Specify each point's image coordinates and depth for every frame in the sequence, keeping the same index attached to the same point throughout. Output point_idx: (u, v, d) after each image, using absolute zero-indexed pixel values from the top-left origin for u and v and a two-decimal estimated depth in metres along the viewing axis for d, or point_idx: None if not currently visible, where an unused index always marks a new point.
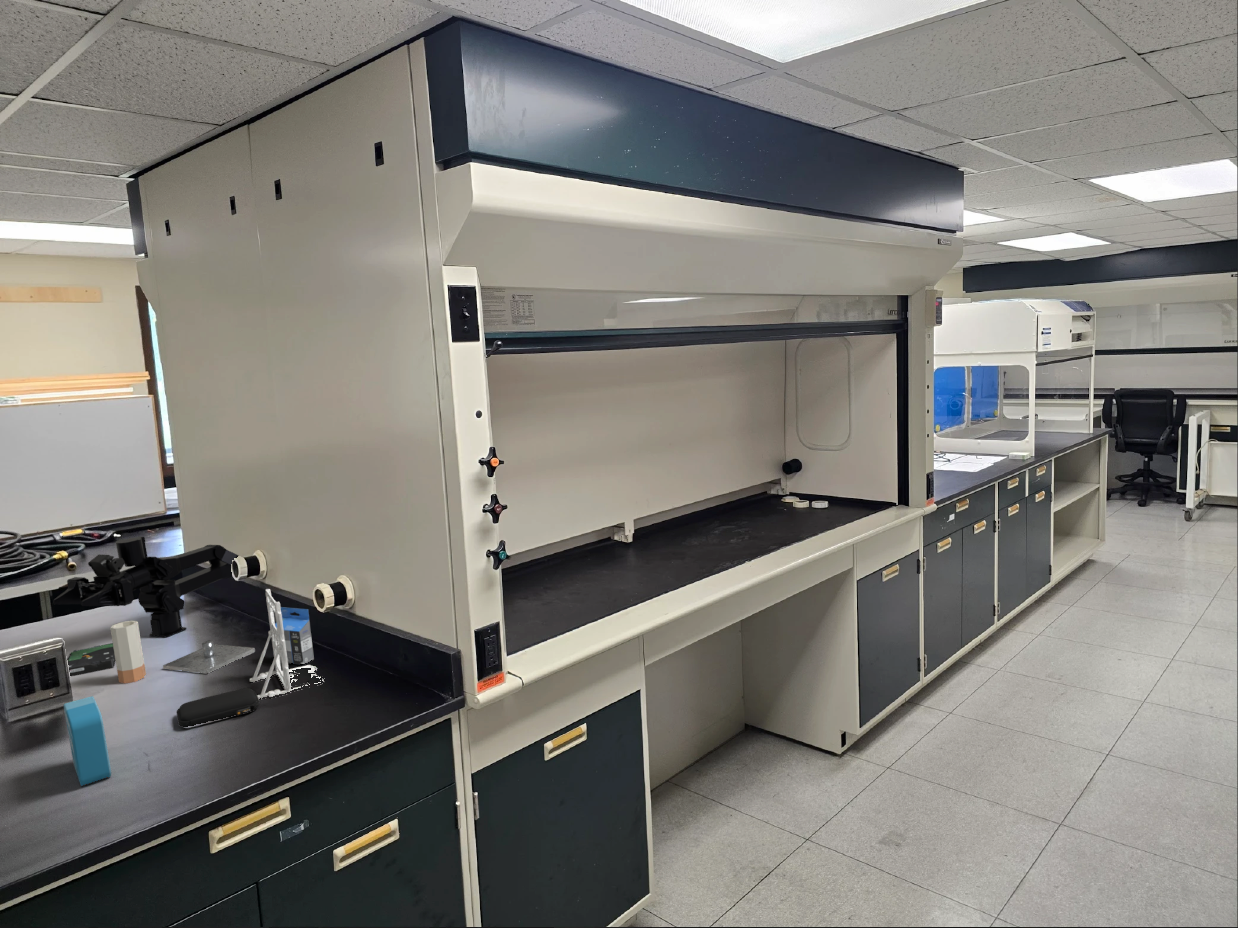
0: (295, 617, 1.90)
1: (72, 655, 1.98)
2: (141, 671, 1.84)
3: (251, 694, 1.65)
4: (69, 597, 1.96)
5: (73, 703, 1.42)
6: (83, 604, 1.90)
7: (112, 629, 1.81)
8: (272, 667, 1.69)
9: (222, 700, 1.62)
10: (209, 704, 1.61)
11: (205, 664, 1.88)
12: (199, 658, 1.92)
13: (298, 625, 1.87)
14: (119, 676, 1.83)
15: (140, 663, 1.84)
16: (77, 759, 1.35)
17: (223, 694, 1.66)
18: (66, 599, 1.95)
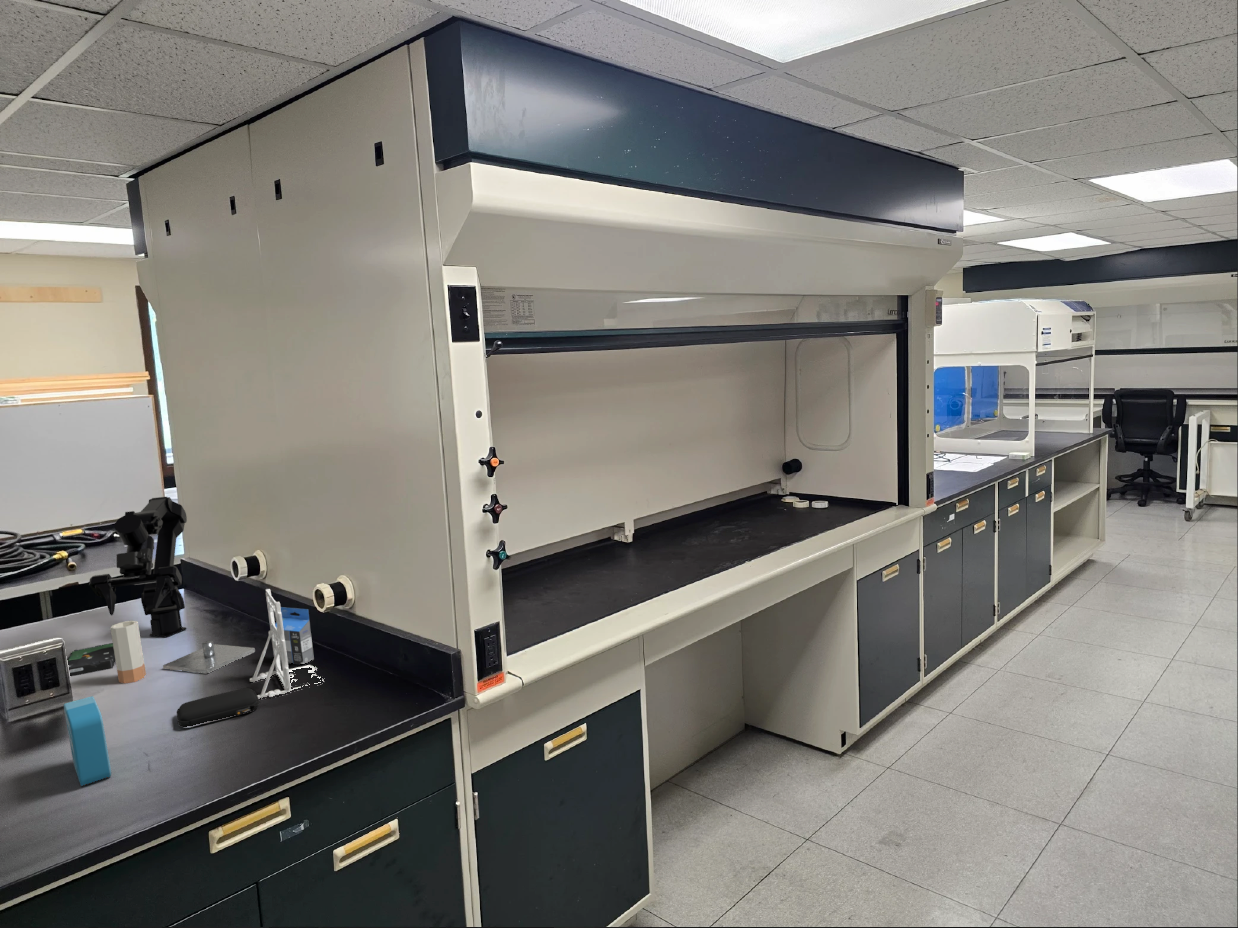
0: (295, 617, 1.90)
1: (72, 655, 1.98)
2: (141, 671, 1.84)
3: (251, 694, 1.65)
4: (112, 600, 1.92)
5: (73, 703, 1.42)
6: (156, 607, 1.92)
7: (112, 629, 1.81)
8: (272, 667, 1.69)
9: (222, 700, 1.62)
10: (209, 704, 1.61)
11: (205, 664, 1.88)
12: (199, 658, 1.92)
13: (298, 625, 1.87)
14: (119, 676, 1.83)
15: (140, 663, 1.84)
16: (77, 759, 1.35)
17: (223, 694, 1.66)
18: (113, 603, 1.92)
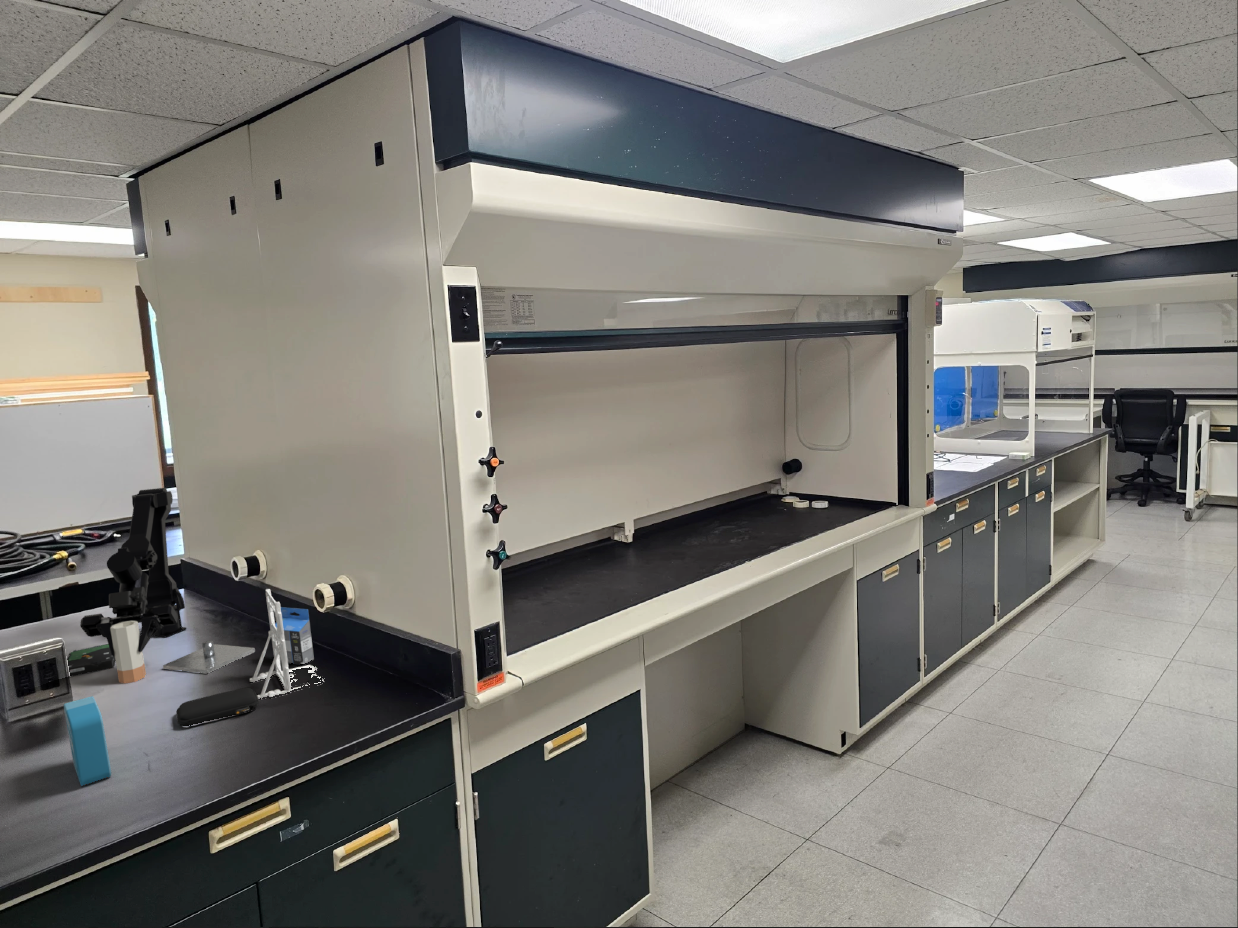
0: (295, 617, 1.90)
1: (72, 655, 1.98)
2: (141, 671, 1.84)
3: (250, 694, 1.65)
4: None
5: (73, 703, 1.42)
6: (141, 650, 1.84)
7: (112, 629, 1.81)
8: (272, 667, 1.69)
9: (221, 700, 1.63)
10: (209, 703, 1.61)
11: (205, 664, 1.88)
12: (199, 658, 1.92)
13: (298, 625, 1.87)
14: (119, 676, 1.83)
15: (140, 663, 1.84)
16: (77, 759, 1.35)
17: (223, 693, 1.66)
18: None
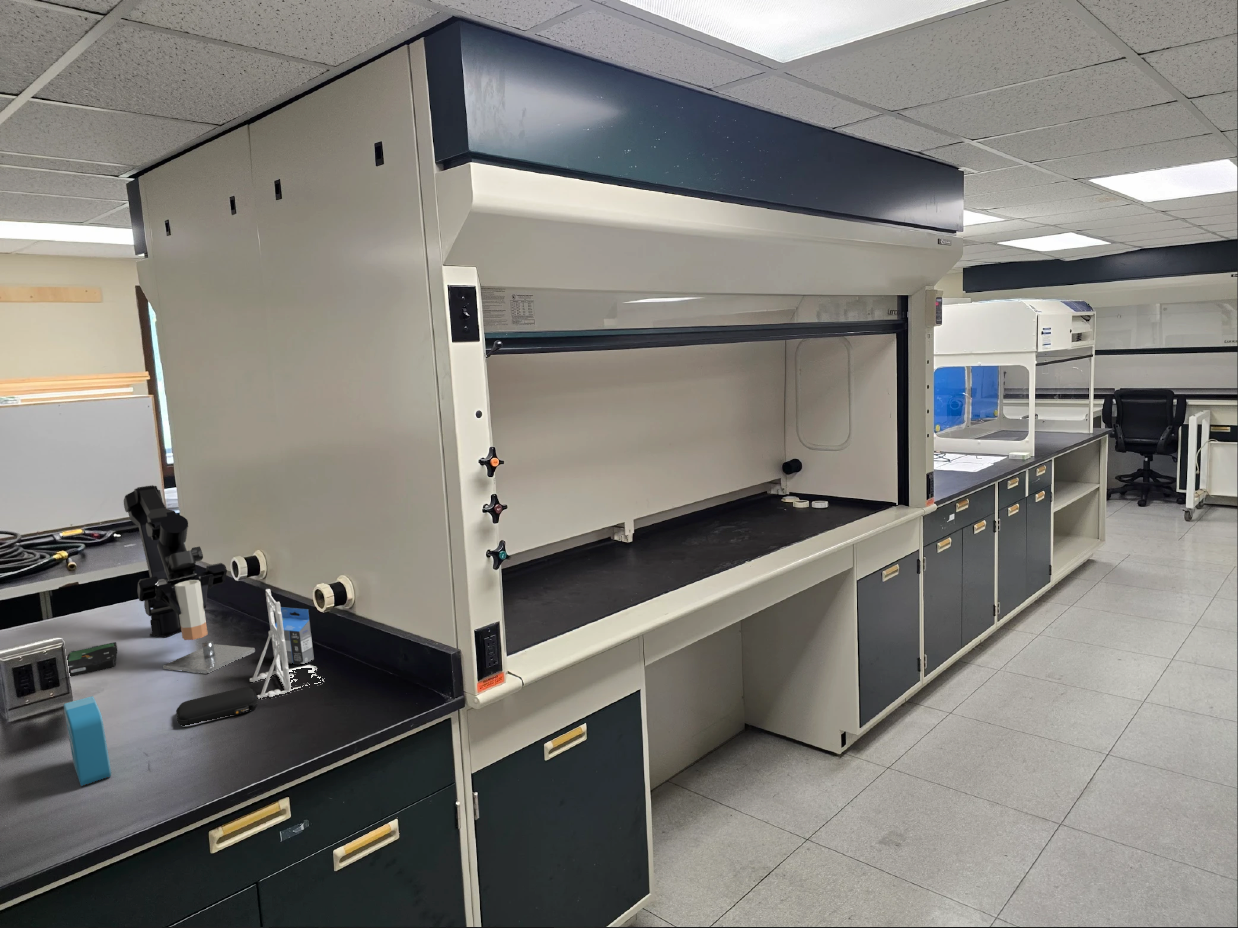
0: (295, 617, 1.90)
1: (71, 655, 1.98)
2: (206, 627, 1.91)
3: (250, 693, 1.65)
4: None
5: (73, 703, 1.42)
6: (205, 607, 1.91)
7: (180, 587, 1.87)
8: (272, 667, 1.69)
9: (221, 699, 1.63)
10: (208, 703, 1.62)
11: (205, 664, 1.88)
12: (199, 658, 1.92)
13: (298, 625, 1.87)
14: (185, 633, 1.88)
15: (205, 619, 1.91)
16: (77, 759, 1.35)
17: (222, 693, 1.66)
18: None
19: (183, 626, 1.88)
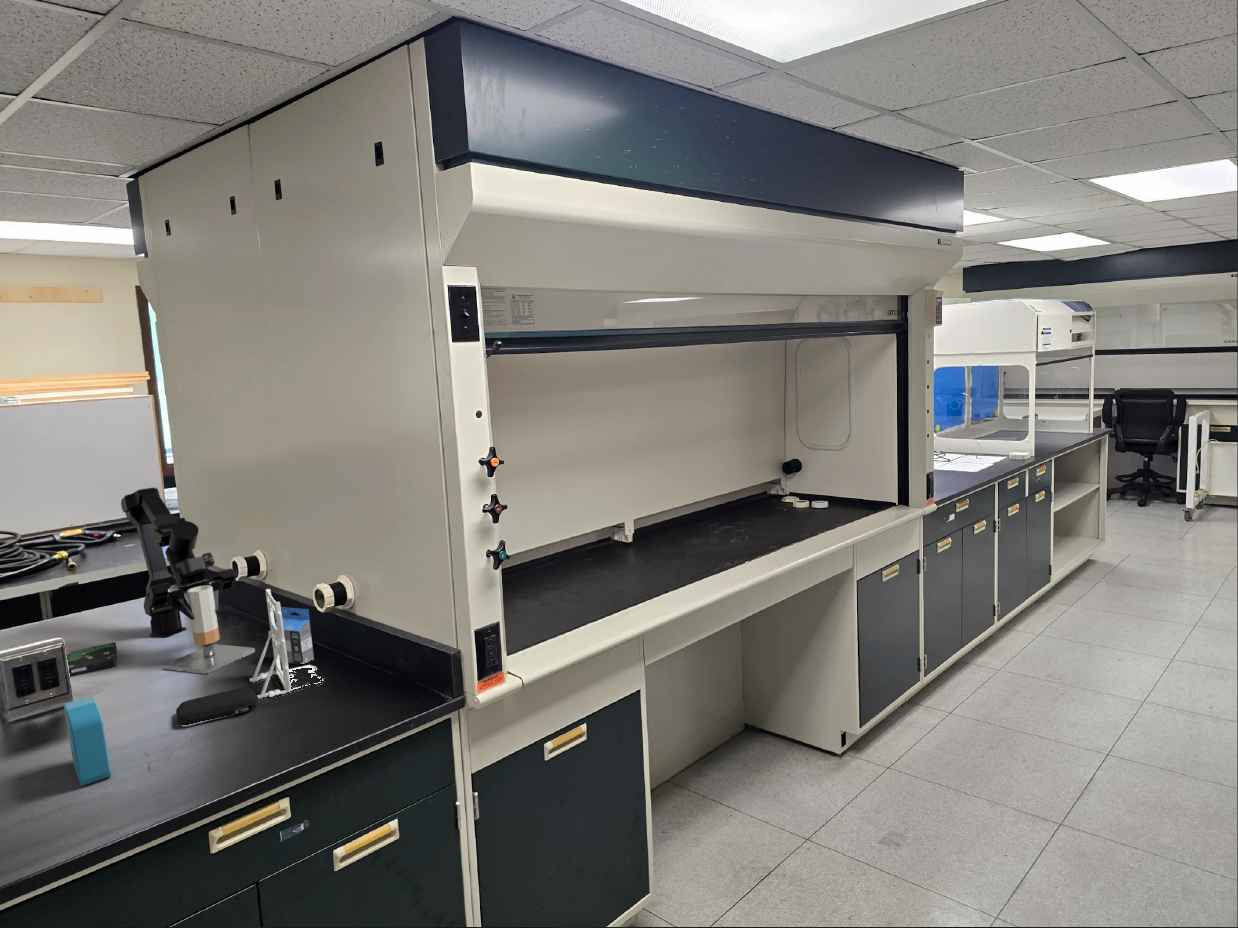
0: (295, 617, 1.90)
1: (70, 656, 1.97)
2: (218, 632, 1.94)
3: (250, 693, 1.66)
4: None
5: (73, 703, 1.42)
6: (217, 612, 1.93)
7: (193, 593, 1.89)
8: (272, 667, 1.69)
9: (221, 699, 1.63)
10: (208, 703, 1.62)
11: (205, 664, 1.88)
12: (199, 658, 1.92)
13: (298, 625, 1.87)
14: (198, 639, 1.90)
15: (217, 624, 1.93)
16: (77, 759, 1.35)
17: (222, 693, 1.66)
18: None
19: (196, 631, 1.90)
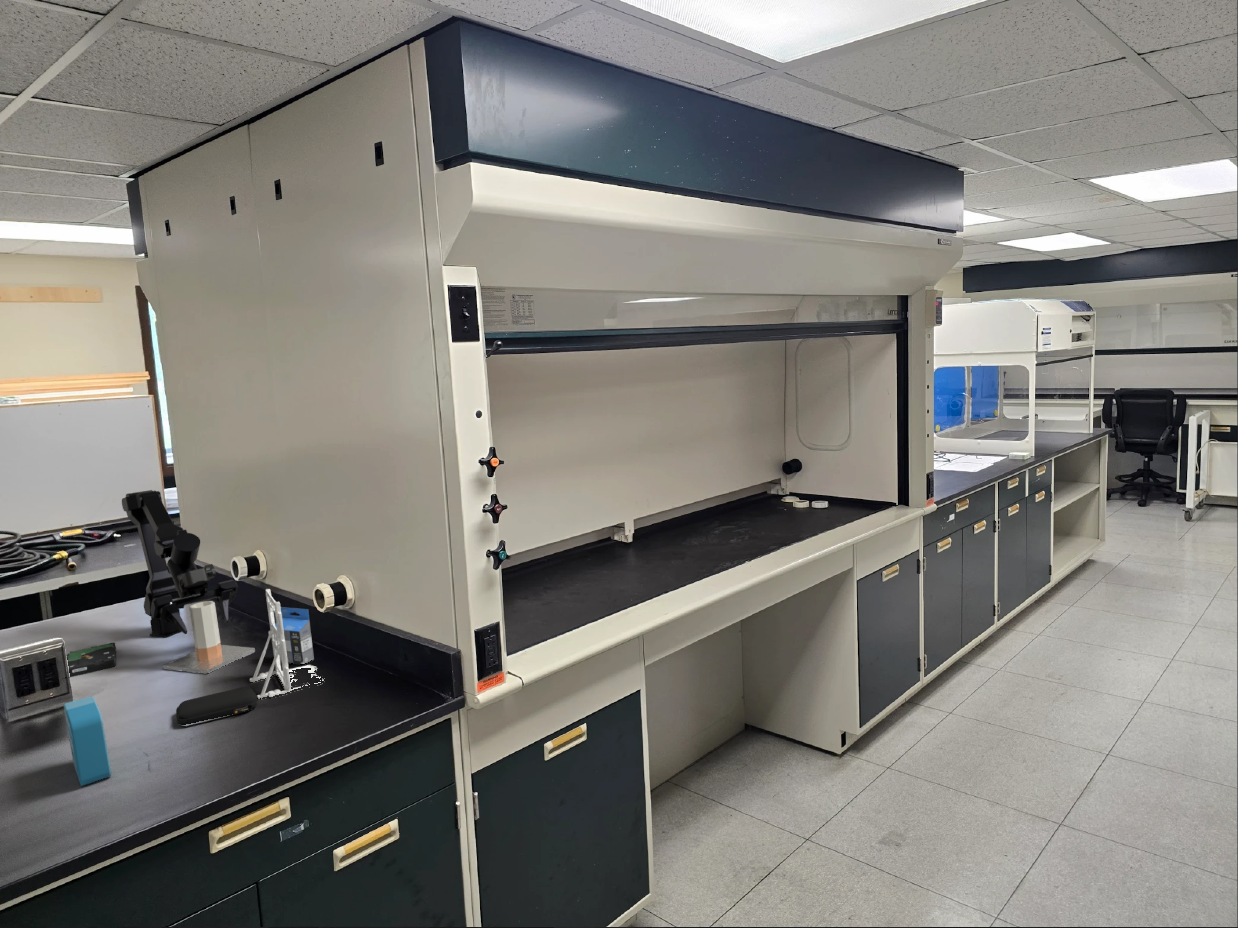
0: (295, 617, 1.90)
1: (70, 656, 1.97)
2: (220, 647, 1.94)
3: (249, 693, 1.66)
4: None
5: (73, 703, 1.42)
6: (227, 621, 1.95)
7: (195, 609, 1.89)
8: (272, 667, 1.69)
9: (220, 699, 1.63)
10: (208, 702, 1.62)
11: (205, 664, 1.88)
12: None
13: (298, 625, 1.87)
14: (201, 654, 1.91)
15: (219, 640, 1.94)
16: (77, 759, 1.35)
17: (222, 693, 1.66)
18: None
19: (198, 647, 1.91)
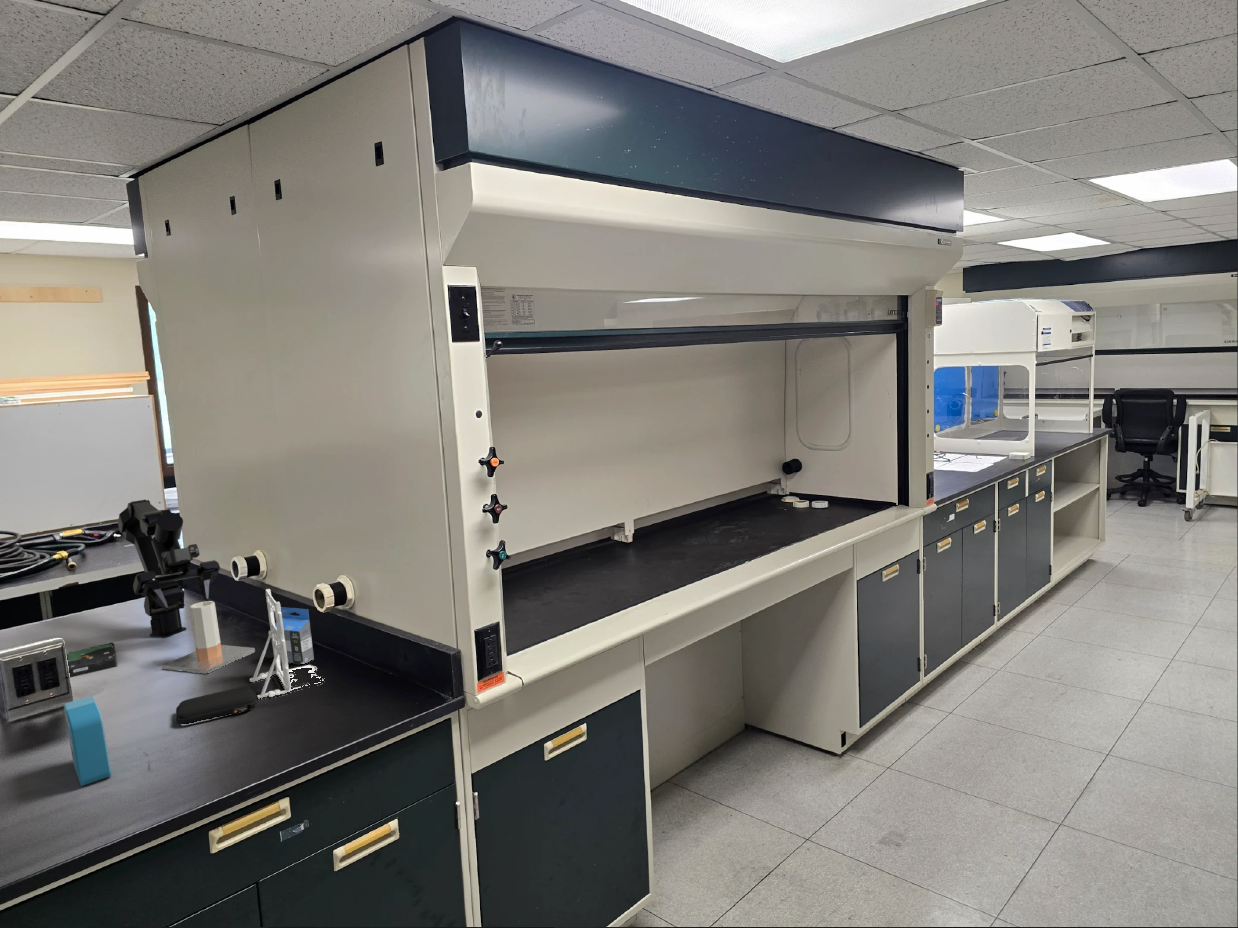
0: (295, 617, 1.90)
1: (70, 656, 1.97)
2: (220, 647, 1.94)
3: (249, 693, 1.66)
4: None
5: (73, 703, 1.42)
6: None
7: (195, 609, 1.89)
8: (272, 667, 1.69)
9: (220, 698, 1.63)
10: (207, 702, 1.62)
11: (205, 664, 1.88)
12: None
13: (298, 625, 1.87)
14: (201, 654, 1.91)
15: (219, 640, 1.94)
16: (77, 759, 1.35)
17: (222, 692, 1.67)
18: None
19: (198, 647, 1.91)
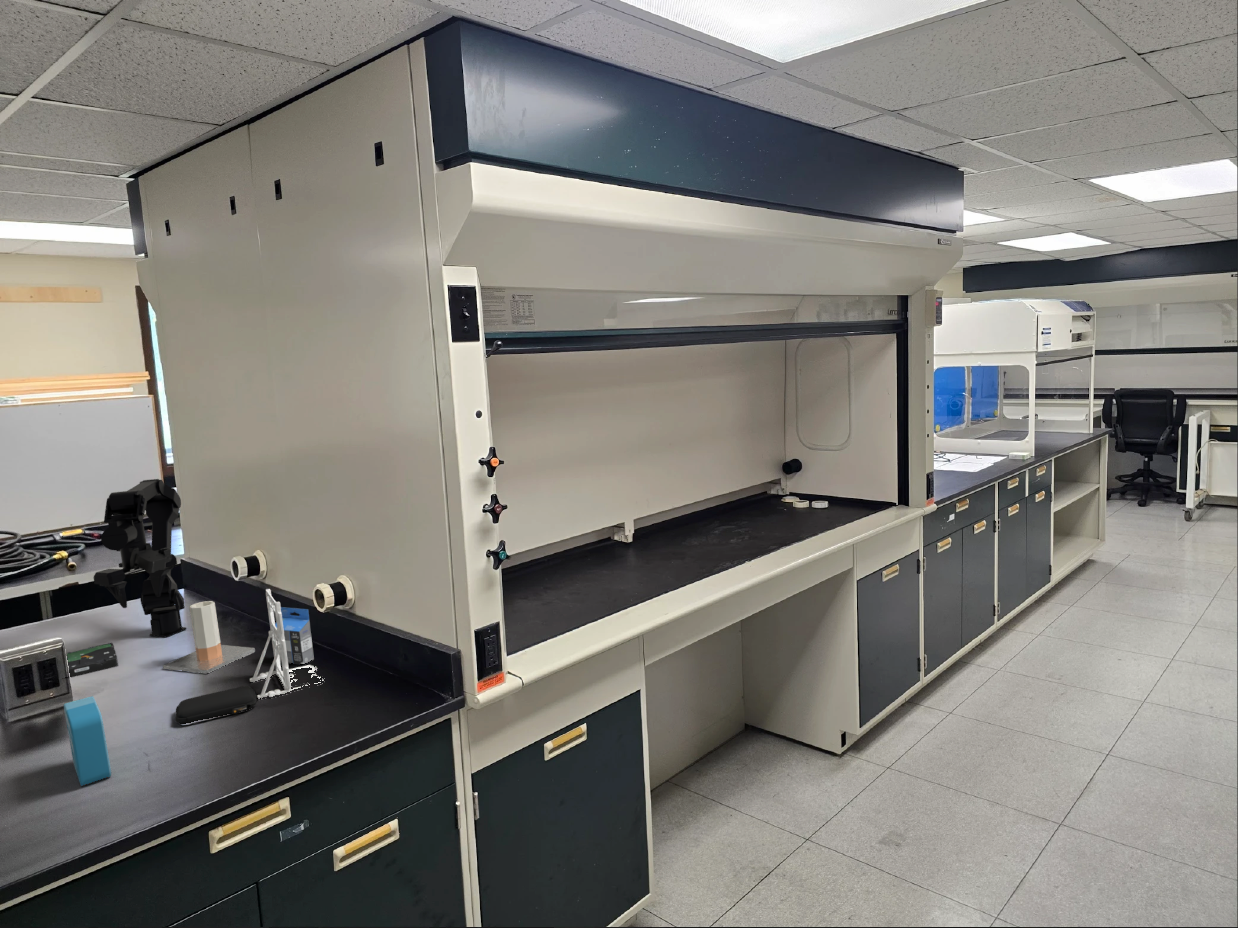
0: (295, 617, 1.90)
1: (69, 656, 1.97)
2: (220, 647, 1.94)
3: (249, 692, 1.66)
4: None
5: (73, 703, 1.42)
6: None
7: (195, 609, 1.89)
8: (272, 667, 1.69)
9: (220, 698, 1.64)
10: (207, 701, 1.62)
11: (205, 664, 1.88)
12: None
13: (298, 625, 1.87)
14: (201, 654, 1.91)
15: (219, 640, 1.94)
16: (77, 759, 1.35)
17: (222, 692, 1.67)
18: None
19: (198, 647, 1.91)
